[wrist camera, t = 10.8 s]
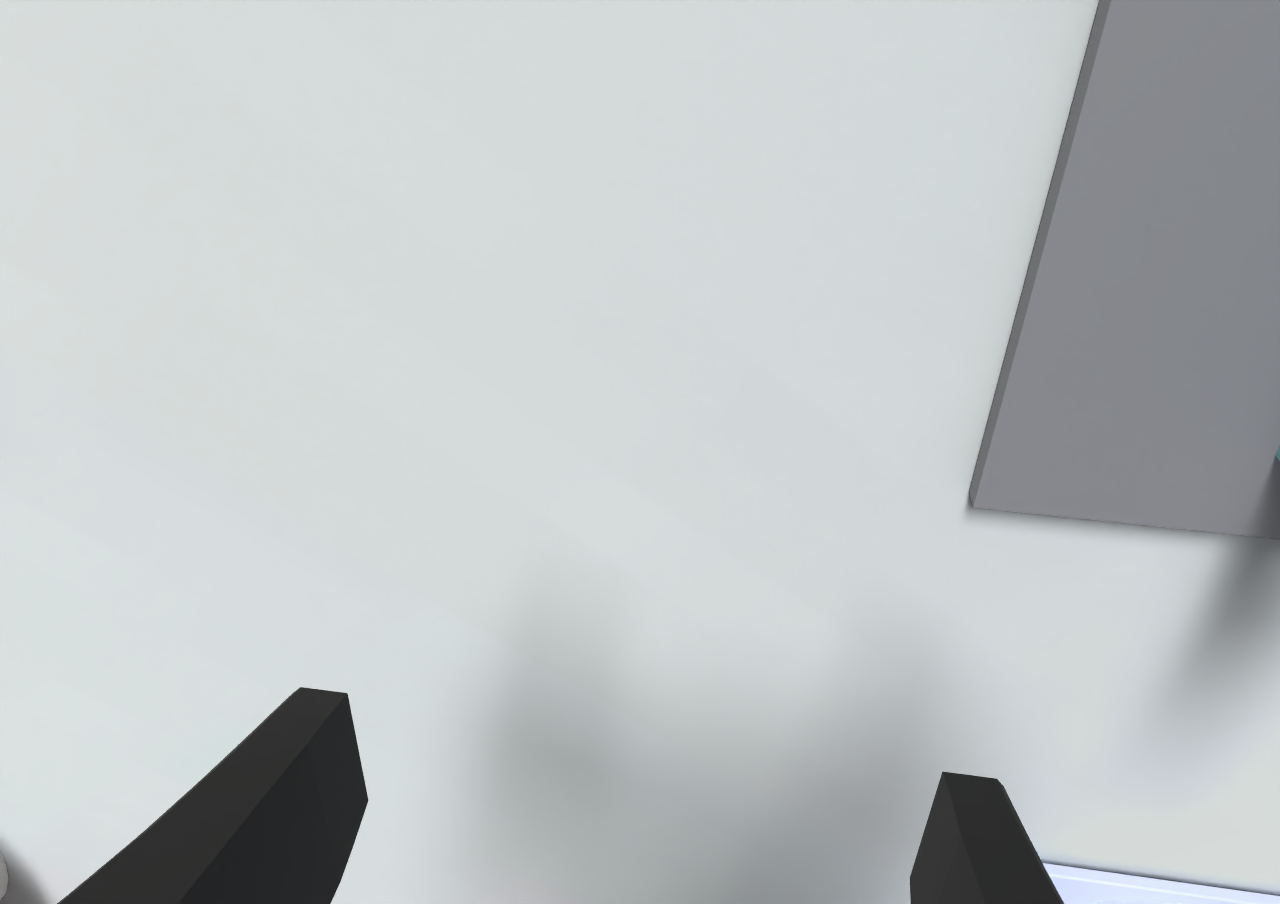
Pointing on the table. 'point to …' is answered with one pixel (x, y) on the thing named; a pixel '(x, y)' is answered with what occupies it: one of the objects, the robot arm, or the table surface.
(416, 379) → the table surface
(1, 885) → the flag stand
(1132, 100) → the mat
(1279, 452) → the sheet
